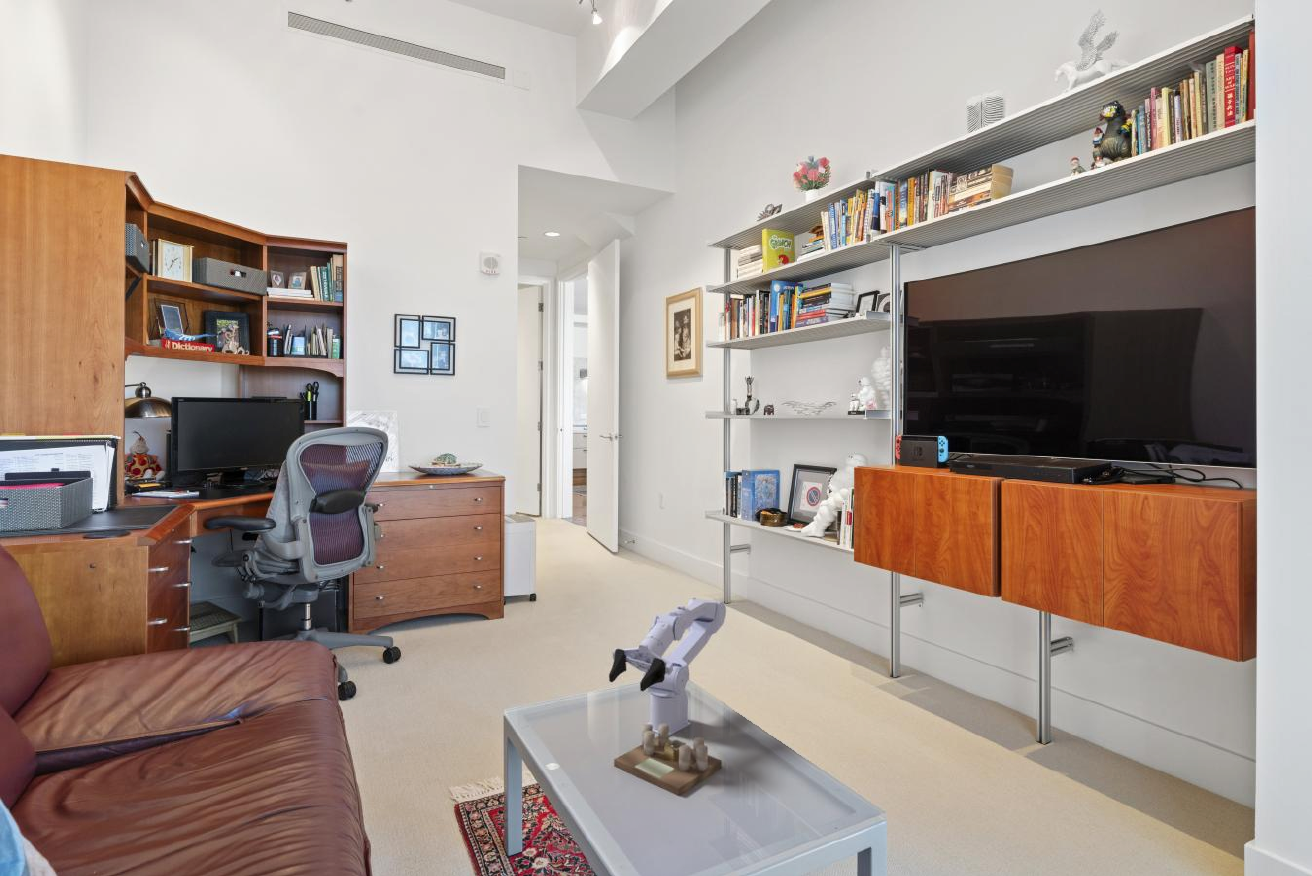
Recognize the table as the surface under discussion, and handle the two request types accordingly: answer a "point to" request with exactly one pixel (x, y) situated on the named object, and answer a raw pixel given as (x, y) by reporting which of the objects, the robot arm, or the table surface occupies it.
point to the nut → (672, 750)
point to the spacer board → (668, 761)
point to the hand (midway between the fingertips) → (625, 682)
